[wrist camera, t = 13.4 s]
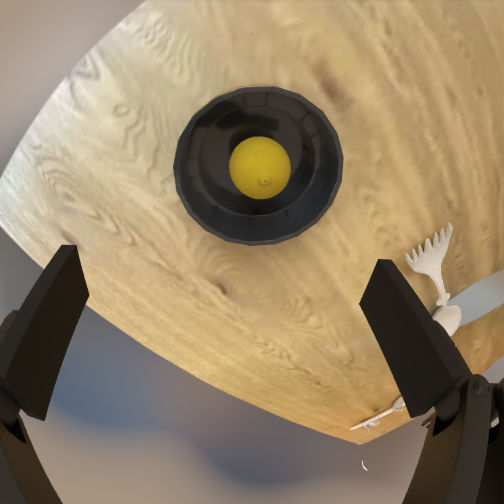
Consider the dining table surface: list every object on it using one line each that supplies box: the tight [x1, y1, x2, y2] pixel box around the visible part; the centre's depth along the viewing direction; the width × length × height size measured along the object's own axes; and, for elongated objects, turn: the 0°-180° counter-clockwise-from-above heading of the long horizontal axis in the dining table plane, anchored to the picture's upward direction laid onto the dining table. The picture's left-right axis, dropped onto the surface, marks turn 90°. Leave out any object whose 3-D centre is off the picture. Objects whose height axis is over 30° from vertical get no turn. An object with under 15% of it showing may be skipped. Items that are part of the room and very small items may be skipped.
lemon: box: [229, 137, 291, 199], centre depth 26 cm, size 6×6×8 cm
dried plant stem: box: [351, 396, 405, 471], centre depth 62 cm, size 12×19×40 cm
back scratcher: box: [405, 223, 461, 336], centre depth 43 cm, size 9×32×4 cm, turn 36°
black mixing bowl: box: [173, 85, 343, 246], centre depth 27 cm, size 15×15×6 cm
